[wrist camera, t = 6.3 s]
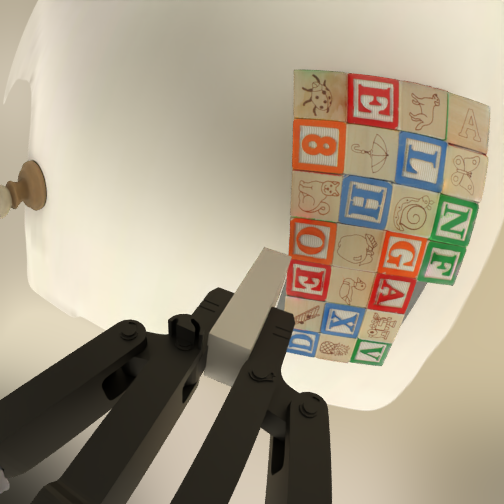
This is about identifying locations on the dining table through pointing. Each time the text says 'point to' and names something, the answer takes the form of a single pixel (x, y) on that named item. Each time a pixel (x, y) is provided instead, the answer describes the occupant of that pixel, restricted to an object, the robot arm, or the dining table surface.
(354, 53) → the dining table surface
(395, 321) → the stack of blocks
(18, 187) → the candle holder
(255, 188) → the dining table surface
